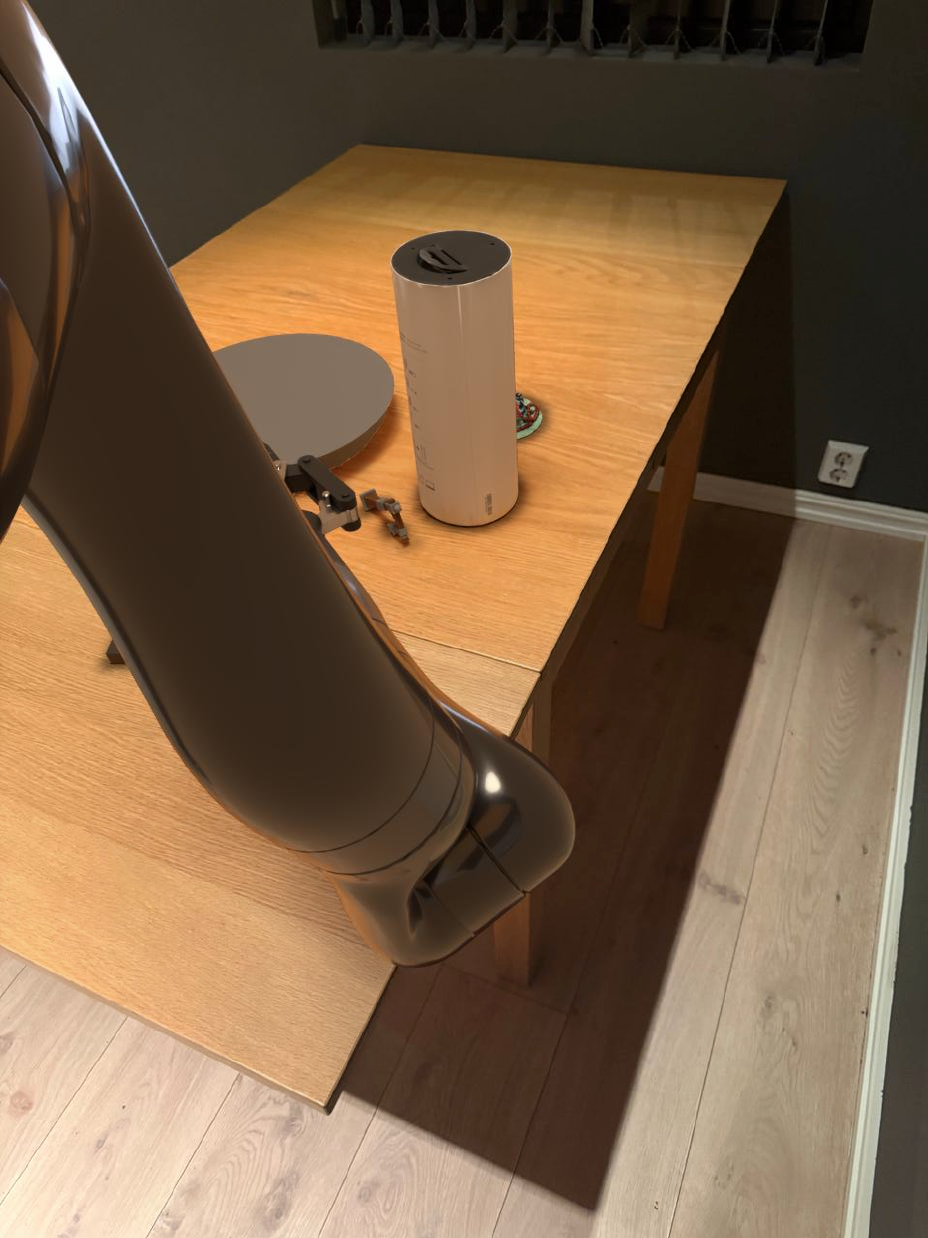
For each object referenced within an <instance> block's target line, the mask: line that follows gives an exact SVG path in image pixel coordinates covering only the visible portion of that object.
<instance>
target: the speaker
mask: <svg viewBox="0 0 928 1238" xmlns="http://www.w3.org/2000/svg"><path fill="white" fill-rule="evenodd" d="M389 264H390V270H391V271H390V272H391V277H392V285H393V294H394V301H395V309H396V316H397V325H398V333H399V341H400V342H399V343H400V350H401V356H402V364H403V373H404V381H405V387H406V388H405V389H406V396H407V397H406V398H407V405H408V413H409V421H410V428H411V436H412V444H413V453H414V460H415V470H416V477H417V486H418V493H419V500H420V505H421V506H422V507H423V509H424V510H425V511H426V512H427V513H428V514H429V515H430V516H431V517H433V519H434V518H435V519H437V520H438V521H440V522H441V523H444V524H447V525H452V526H457V527H476V526H482V525H486V524H488V523H492V522H494V521H496V520H499V519H501V518H502V517H504V516H505V515H507V514H508V513H509V512H510V511H511V510H512V509H513V507H514V506H515V504H516V503H517V500H518V497H519V465H518V464H519V462H518V460H519V459H518V439H517V422H516V393H517V391H516V390H517V389H516V388H517V387H516V386H517V385H516V360H515V358H516V356H515V355H516V353H515V325H514V319H515V318H514V289H513V287H514V286H513V285H514V284H513V283H514V282H513V251H512V247H511V246H510V245H509V244H508V243H507V242H506V241H505V240H504V239H502V238H501V237H499V236H497V235H494V234H491V233H489V232H485V231H479V230H471V229H470V230H469V229H450V230H449V229H447V230H440V231H434V232H430V233H426V234H423V235H419V236H417V237H414V238H412V239H409V240H407V241H406V242H404V243H402V244H401V245H399V247H397V248H396V249H395V250H394V252H393V253H392V255H391V258H390V263H389Z"/></svg>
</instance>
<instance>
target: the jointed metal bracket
mask: <svg viewBox="0 0 928 1238" xmlns="http://www.w3.org/2000/svg"><path fill="white" fill-rule="evenodd" d="M377 492H378V491H377V490H376V488H375V487H373V488H371V489H369V490H367V491H364V492H362V493H360V494H358V495H359V498H360V499H359V500H360V502H361V504H362V507H363V510H364V511H369V510H371V509H373V508H377V510H378V511H379V510H380V511H382V512H387V511H388V513H390V515H391V516H392V518H393V521H392V522H389V523H387V524H386V525H387V528H388V532H389V533H390V534H391V533H392V535H393V536H395V535H399V536H400V539H401V542H403V543H407V542H409V541H410V538H409V537H410V536H409V535H408V534H409V531H408V528H407V527H406V526H405V524H404V521H403V518H402V515H401V512H402V511H403V509H402V506H401V503H400V501H397V500H396V499H395V498H393V497H390V498H386V497H384V496H383V497H380V496H379V495H378V493H377Z"/></svg>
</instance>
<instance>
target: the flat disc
mask: <svg viewBox="0 0 928 1238" xmlns="http://www.w3.org/2000/svg"><path fill="white" fill-rule="evenodd" d="M212 353H213V355H214V356H215V358H216V360H217V362H218V364H219V365H220V367H221V369H222V371H223V373H224V374H225V376H226V378H227V380H228V382H229V383H230V385H231V387H232V389H233V391H234V392H235V394H236V396H237V398H238V399H239V401H240V403H241V405H242V407H243V408H244V410H245V412H246V414H247V416H248V417H249V419H250V421H251V423H252V425H253V426H254V428H255V430H256V432H257V434H258V435H259V437H260V439H261V441H262V442H263V443H266V444H268V445H269V446H270V448H271V449H272V450H273V451H274V453H275V454H276V455H277V456H278V458H279V459H280V460H282V461H285V462H286V464H297V461H298V459H299V458H300V457H302V456H305V455H312V456H314V457H316V458H317V459H318V460H319V461H320V462H321V463H322V464H324V465H325V466H326V467H327V468H328V469H329V470H330V471H331V470H332V469H334V468H339V467H341V466H342V465H344V464H345V463H346V462H348V461H349V460H352V459H353V458H354V457H356V456H357V455H358V454H359V453H361V452H362V451H363V450H364V449H365V447H366V446H367V445H368V444H369V443H370V442H371V440H372V439H373V438H374V436H375V434H376V433H377V432H378V431H379V430H380V428H381V426H382V425H383V423H384V421H385V417H386V416H387V410H388V407H389V406H390V404H391V401H392V399H393V396H394V393H395V377H394V374H393V371H392V368H391V367H390V365H389V363H388V362H387V360H386V359H385V358H383V357H382V356H381V354H379V353H378V352H376V351H375V350H374V349H372V348H371V347H369V346H367V345H365V344H363V343H360V342H359V341H356V340H352V339H349V338H345V337H341V336H336V335H331V334H324V333H323V334H322V333H311V332H310V333H308V332H307V333H306V332H305V333H304V332H303V333H301V332H299V333H298V332H297V333H282V334H275V335H266V336H261V337H256V338H252V339H247V340H244V341H240V342H237V343H234V344H231V345H227V346H224V347H221V348H219V349H217V350H214V351H212Z"/></svg>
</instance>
